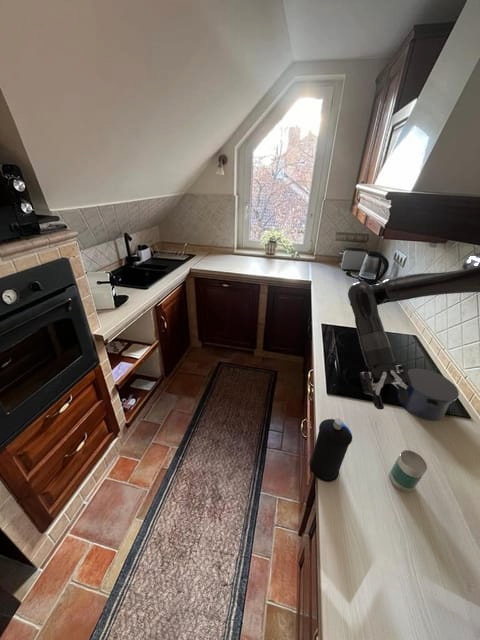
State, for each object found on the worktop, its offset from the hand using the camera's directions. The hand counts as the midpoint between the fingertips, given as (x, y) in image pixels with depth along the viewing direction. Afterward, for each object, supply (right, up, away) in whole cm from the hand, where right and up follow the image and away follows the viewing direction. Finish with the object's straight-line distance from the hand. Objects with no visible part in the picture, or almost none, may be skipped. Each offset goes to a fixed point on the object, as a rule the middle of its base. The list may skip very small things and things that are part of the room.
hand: (393, 406), depth 70 cm
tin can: (+2, -21, 0) cm, 21 cm away
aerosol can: (-18, -19, +3) cm, 27 cm away
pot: (+25, -8, +25) cm, 36 cm away
